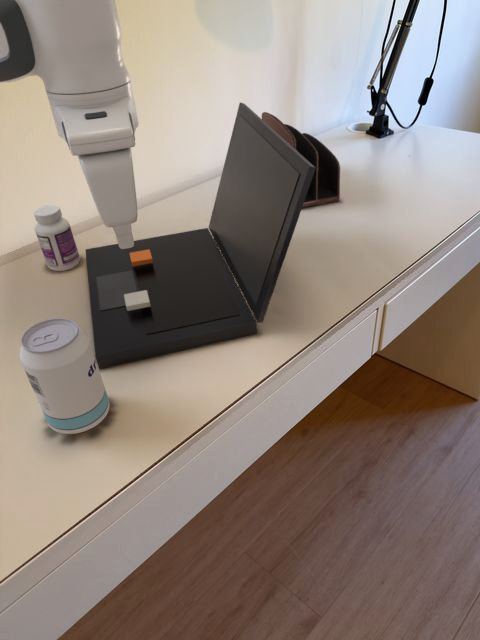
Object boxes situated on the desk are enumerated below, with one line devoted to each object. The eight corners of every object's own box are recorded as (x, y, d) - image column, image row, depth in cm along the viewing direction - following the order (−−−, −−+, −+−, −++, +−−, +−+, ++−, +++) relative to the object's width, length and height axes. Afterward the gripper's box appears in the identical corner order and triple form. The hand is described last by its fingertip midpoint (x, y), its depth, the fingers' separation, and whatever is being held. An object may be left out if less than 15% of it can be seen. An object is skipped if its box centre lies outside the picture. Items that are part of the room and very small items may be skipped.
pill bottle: (79, 253, 91) (64, 200, 85) (81, 268, 87) (65, 213, 81) (47, 259, 90) (29, 206, 84) (47, 274, 86) (28, 219, 80)
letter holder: (292, 210, 101) (291, 134, 92) (261, 175, 116) (258, 106, 107) (340, 202, 103) (343, 127, 94) (304, 168, 118) (304, 100, 109)
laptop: (99, 369, 67) (95, 356, 65) (88, 259, 89) (85, 248, 88) (257, 334, 71) (256, 321, 70) (208, 238, 94) (207, 227, 92)
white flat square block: (127, 311, 71) (126, 306, 71) (125, 299, 74) (123, 294, 73) (150, 306, 72) (149, 301, 72) (147, 294, 75) (146, 289, 74)
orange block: (132, 266, 81) (131, 262, 80) (130, 257, 83) (129, 252, 83) (153, 262, 82) (152, 258, 81) (150, 253, 84) (149, 249, 83)
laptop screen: (309, 166, 59) (316, 167, 59) (239, 102, 81) (244, 103, 82) (256, 322, 70) (262, 322, 70) (207, 227, 92) (212, 228, 93)
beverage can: (115, 429, 59) (88, 345, 51) (51, 447, 57) (13, 363, 49) (107, 390, 64) (81, 308, 56) (48, 405, 62) (13, 323, 54)
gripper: (64, 95, 65) (93, 202, 74) (67, 144, 49) (102, 272, 58) (116, 89, 66) (138, 195, 75) (134, 134, 51) (159, 261, 59)
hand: (122, 229), depth 66 cm, fingers open, 8 cm apart
